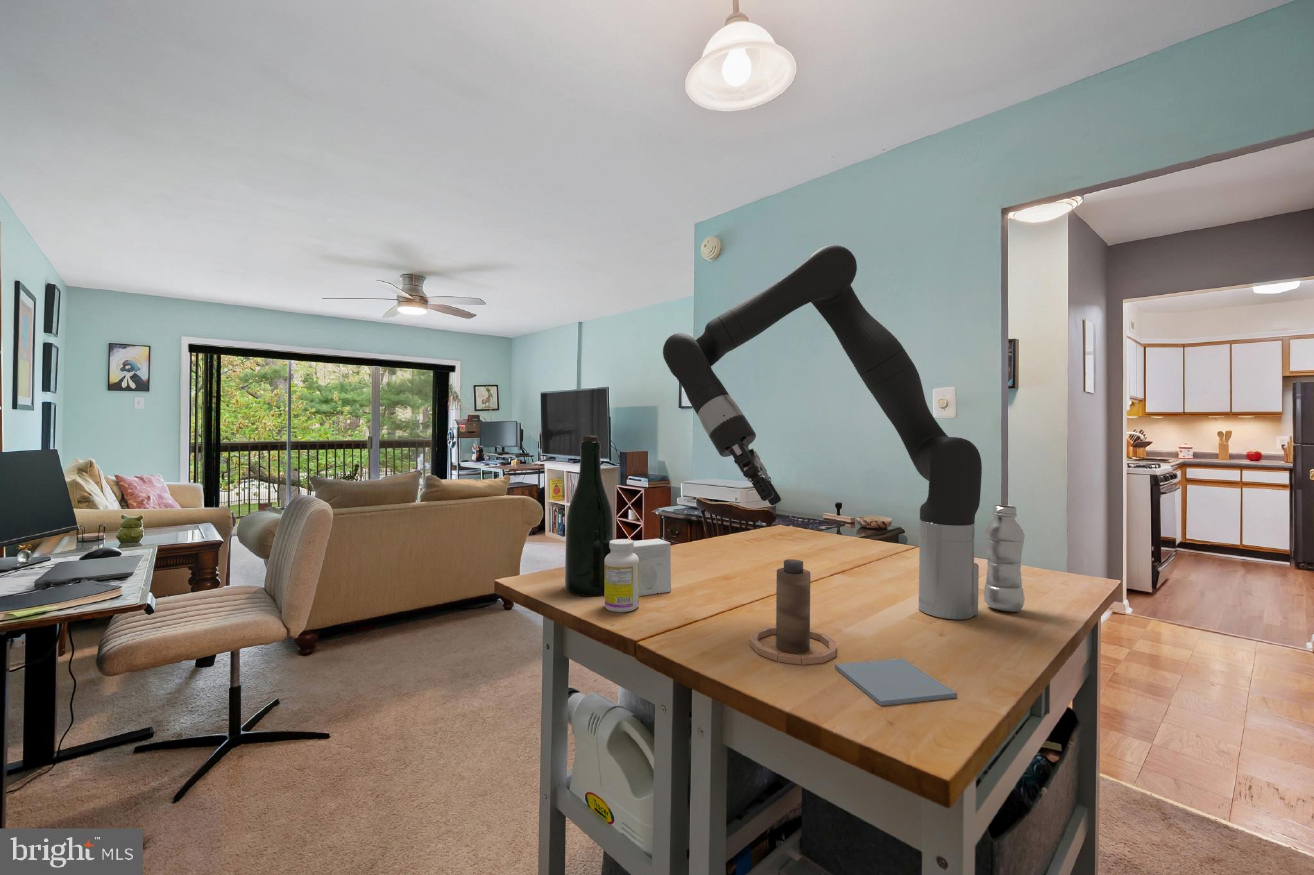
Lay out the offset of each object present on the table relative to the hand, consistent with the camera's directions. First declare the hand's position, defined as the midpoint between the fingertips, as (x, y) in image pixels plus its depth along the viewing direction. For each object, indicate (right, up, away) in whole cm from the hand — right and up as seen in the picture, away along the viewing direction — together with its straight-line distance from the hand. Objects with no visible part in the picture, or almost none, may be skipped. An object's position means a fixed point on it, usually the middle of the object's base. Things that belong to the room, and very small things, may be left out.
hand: (773, 501), depth 95 cm
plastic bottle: (+47, -22, +11) cm, 53 cm away
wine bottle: (-34, -22, +22) cm, 46 cm away
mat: (+12, -22, -20) cm, 32 cm away
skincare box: (-23, -22, +22) cm, 39 cm away
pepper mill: (+1, -22, -8) cm, 24 cm away
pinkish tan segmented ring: (+1, -22, -8) cm, 24 cm away
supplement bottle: (-27, -22, +11) cm, 36 cm away
